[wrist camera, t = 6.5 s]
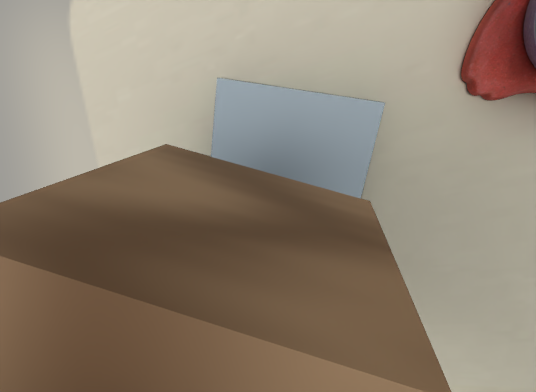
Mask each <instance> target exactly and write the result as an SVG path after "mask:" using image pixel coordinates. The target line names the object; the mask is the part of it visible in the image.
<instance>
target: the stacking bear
mask: <svg viewBox="0 0 536 392" xmlns="http://www.w3.org/2000/svg"><path fill="white" fill-rule="evenodd" d="M461 77H462V80H463V81H464V82H466V83H467V89H468V91H469V93H471V94H472V95H474V96H477V95H480V96H481V97H482V98H484V99H485V100H499V99H502V98H505V97H508V96H512V95H515V94H520V93H536V0H495V1H494V3H493V4H492V5H491V7H490V8H489V9H488V11H487V12H486V14H485V15H484V17H483V19H482V20H481V22H480V24H479V25H478V27H477V29H476V31H475V33H474V35H473V37H472V40H471V42H470V44H469V47H468V49H467V52H466V55H465V58H464V62H463V66H462V71H461Z"/></svg>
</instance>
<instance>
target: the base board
mask: <svg viewBox="0 0 536 392" xmlns="http://www.w3.org/2000/svg"><path fill="white" fill-rule="evenodd" d="M384 105H385V103H384V102H378V101H371V100H364V99H357V98H351V97H344V96H337V95H331V94H324V93H317V92H310V91H304V90H297V89H290V88H284V87H277V86H270V85H264V84H257V83H250V82H243V81H237V80H230V79H223V78H217V88H216V100H215V113H214V126H213V138H212V151H211V157H214V158H217V159H221V160H225V161H228V162H232V163H235V164H239V165H242V166H246V167H250V168H253V169H257V170H260V171H264V172H267V173H271V174H275V175H278V176H282V177H285V178H289V179H293V180H296V181H300V182H303V183H307V184H310V185H314V186H318V187H321V188H325V189H328V190H332V191H335V192H339V193H343V194H346V195H350V196H353V197H357V198H360V199H361V195H362V191H363V188H364V184H365V180H366V176H367V172H368V168H369V164H370V160H371V156H372V152H373V148H374V144H375V140H376V136H377V132H378V128H379V125H380V121H381V117H382V113H383V109H384Z"/></svg>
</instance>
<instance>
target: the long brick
mask: <svg viewBox="0 0 536 392" xmlns="http://www.w3.org/2000/svg"><path fill="white" fill-rule="evenodd" d="M0 392H451V390H450V388H449V385H448V383H447V381H446V378H445V376H444V374H443V371H442V369H441V366H440V364H439V362H438V359H437V357H436V355H435V352H434V350H433V348H432V345H431V343H430V341H429V338H428V336H427V334H426V331H425V329H424V327H423V324H422V322H421V320H420V317H419V315H418V313H417V310H416V308H415V306H414V303H413V301H412V299H411V296H410V294H409V291H408V289H407V287H406V284H405V282H404V280H403V277H402V275H401V273H400V270H399V268H398V266H397V263H396V261H395V259H394V256H393V254H392V252H391V249H390V247H389V245H388V242H387V240H386V238H385V235H384V233H383V231H382V228H381V226H380V224H379V221H378V219H377V217H376V214H375V212H374V209H373V207H372V205H371V202H370V201H368V200H364V199H360V198H357V197H353V196H350V195H346V194H343V193H339V192H335V191H332V190H328V189H325V188H321V187H318V186H314V185H310V184H307V183H303V182H300V181H296V180H293V179H289V178H285V177H282V176H278V175H275V174H271V173H267V172H264V171H260V170H257V169H253V168H250V167H246V166H242V165H239V164H235V163H232V162H228V161H225V160H221V159H217V158H214V157H210V156H207V155H203V154H200V153H196V152H192V151H189V150H185V149H182V148H178V147H175V146H171V145H167V144H165V145H162V146H160V147H157V148H154V149H151V150H148V151H145V152H143V153H140V154H137V155H134V156H131V157H128V158H126V159H123V160H120V161H117V162H114V163H111V164H109V165H106V166H103V167H100V168H97V169H94V170H92V171H89V172H86V173H83V174H80V175H77V176H75V177H72V178H69V179H66V180H64V181H60V182H58V183H55V184H52V185H49V186H46V187H43V188H41V189H38V190H35V191H32V192H29V193H27V194H24V195H21V196H18V197H15V198H12V199H9V200H7V201H4V202H1V203H0Z"/></svg>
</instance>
